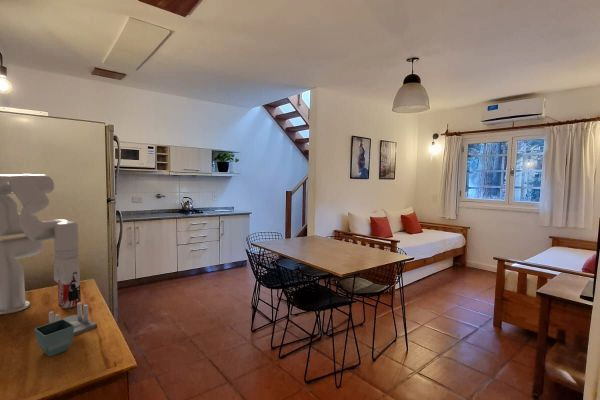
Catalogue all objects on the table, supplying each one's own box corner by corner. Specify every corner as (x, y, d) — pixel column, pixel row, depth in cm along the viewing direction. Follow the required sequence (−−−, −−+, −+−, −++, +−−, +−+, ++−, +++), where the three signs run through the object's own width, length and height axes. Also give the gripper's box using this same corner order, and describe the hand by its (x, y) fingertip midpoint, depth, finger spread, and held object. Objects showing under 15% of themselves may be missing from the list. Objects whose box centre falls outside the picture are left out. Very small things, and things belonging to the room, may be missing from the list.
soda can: (70, 301, 128) (69, 272, 127) (82, 303, 127) (81, 274, 126) (54, 307, 122) (53, 277, 121) (66, 309, 121) (65, 279, 120)
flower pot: (45, 362, 104) (44, 336, 103) (34, 353, 108) (33, 328, 108) (75, 350, 111) (74, 325, 110) (64, 342, 116) (63, 318, 115)
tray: (38, 330, 124) (37, 309, 123) (74, 317, 135) (74, 298, 135) (60, 341, 116) (59, 319, 116) (97, 326, 128) (96, 306, 127)
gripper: (44, 252, 123) (45, 297, 125) (68, 259, 116) (70, 306, 117) (65, 248, 130) (67, 291, 132) (90, 254, 122) (91, 299, 124)
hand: (68, 297), depth 124 cm, fingers closed on soda can, 6 cm apart
